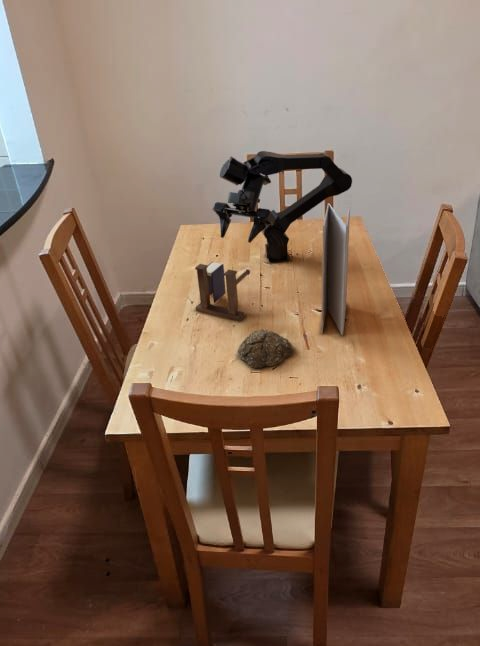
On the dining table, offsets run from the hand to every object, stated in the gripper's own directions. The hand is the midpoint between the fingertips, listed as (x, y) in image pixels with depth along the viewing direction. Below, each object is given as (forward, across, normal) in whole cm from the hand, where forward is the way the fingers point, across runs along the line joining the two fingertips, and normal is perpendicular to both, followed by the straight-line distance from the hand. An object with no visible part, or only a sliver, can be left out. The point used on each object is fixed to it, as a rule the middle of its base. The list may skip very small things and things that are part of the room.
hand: (235, 239), depth 165 cm
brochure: (+17, +35, +2) cm, 39 cm away
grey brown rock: (+32, +25, -13) cm, 42 cm away
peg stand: (+20, +5, -2) cm, 21 cm away
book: (+18, 0, -2) cm, 19 cm away
